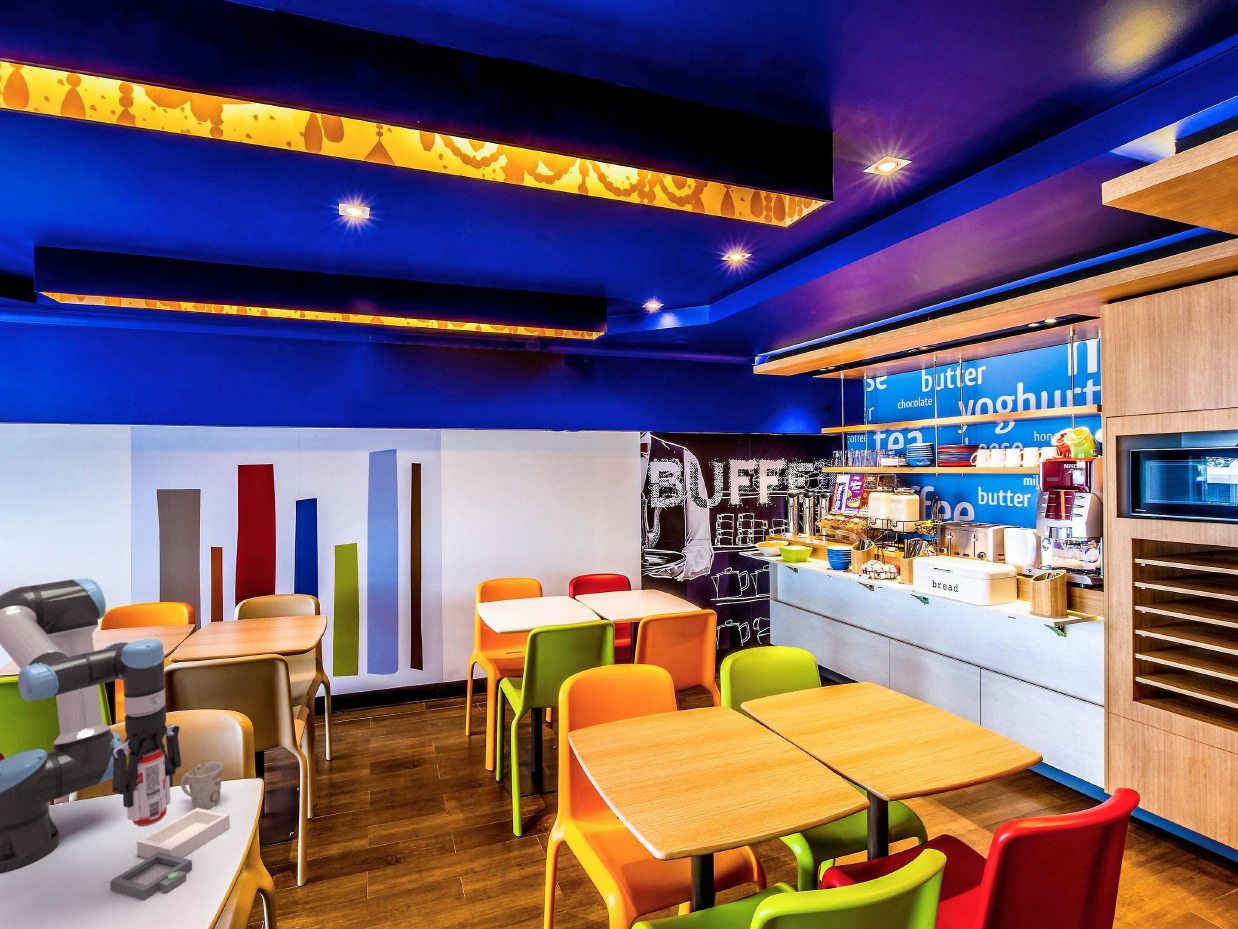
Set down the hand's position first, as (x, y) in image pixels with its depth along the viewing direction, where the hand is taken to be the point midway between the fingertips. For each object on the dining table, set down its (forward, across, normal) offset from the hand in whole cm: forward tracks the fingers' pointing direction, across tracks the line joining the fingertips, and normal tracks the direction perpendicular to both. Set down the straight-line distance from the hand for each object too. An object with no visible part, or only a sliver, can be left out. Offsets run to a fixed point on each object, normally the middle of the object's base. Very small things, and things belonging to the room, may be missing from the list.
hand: (149, 811), depth 147 cm
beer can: (+2, 0, 0) cm, 2 cm away
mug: (+16, +26, +20) cm, 37 cm away
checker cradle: (+16, 0, -1) cm, 16 cm away
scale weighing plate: (+17, 0, 0) cm, 17 cm away
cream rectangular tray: (+16, +13, +7) cm, 21 cm away
